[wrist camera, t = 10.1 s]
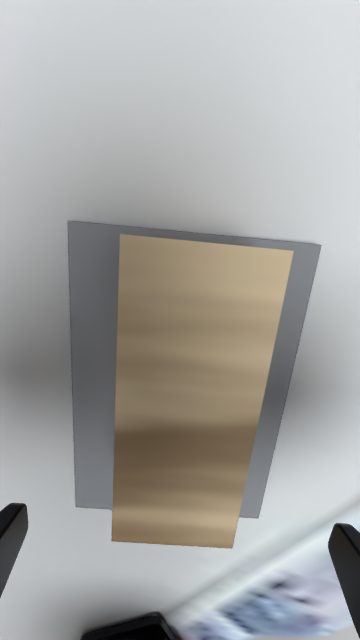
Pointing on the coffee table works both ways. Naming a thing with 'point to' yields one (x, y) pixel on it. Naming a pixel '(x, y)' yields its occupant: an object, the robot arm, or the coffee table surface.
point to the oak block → (190, 384)
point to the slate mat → (101, 353)
